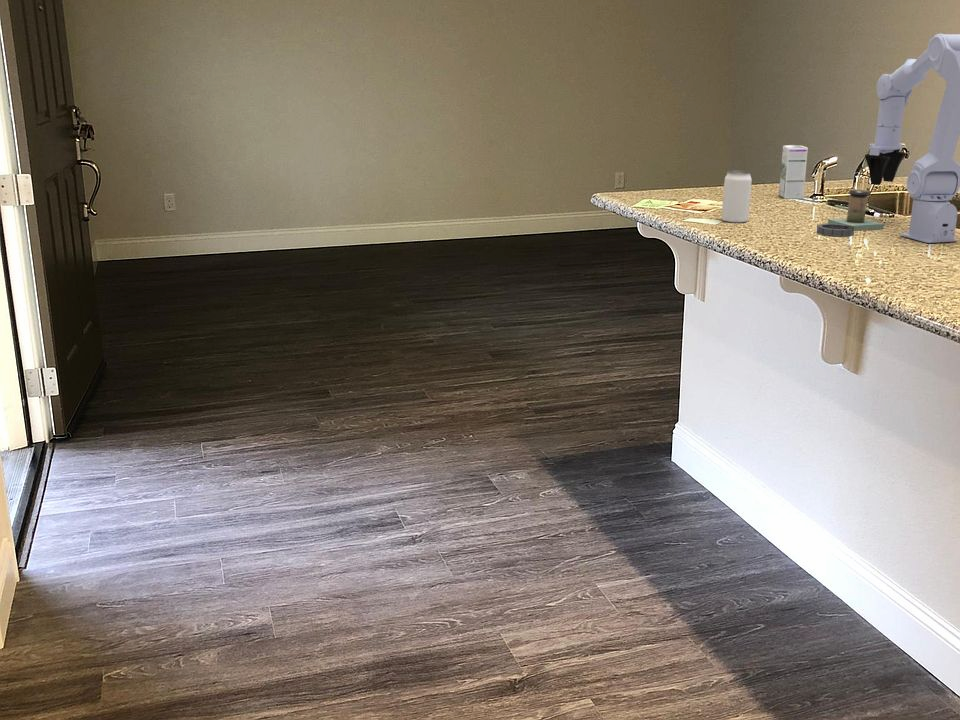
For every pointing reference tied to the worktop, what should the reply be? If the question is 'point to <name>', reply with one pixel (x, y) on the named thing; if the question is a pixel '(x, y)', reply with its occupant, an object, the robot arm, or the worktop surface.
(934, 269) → the worktop surface
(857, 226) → the pad
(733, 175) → the can
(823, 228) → the collar
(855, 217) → the hook peg
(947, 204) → the robot arm
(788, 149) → the syrup box
